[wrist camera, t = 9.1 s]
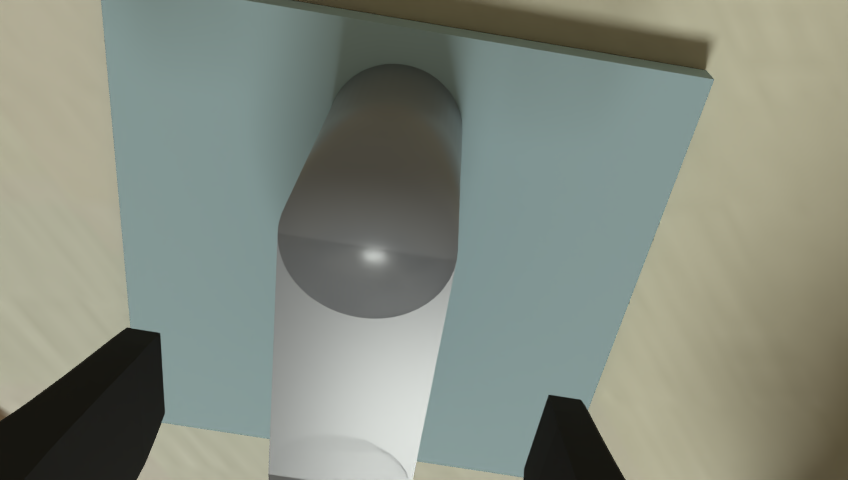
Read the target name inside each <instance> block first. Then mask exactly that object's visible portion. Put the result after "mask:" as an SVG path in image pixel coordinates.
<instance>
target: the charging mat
mask: <svg viewBox="0 0 848 480" xmlns="http://www.w3.org/2000/svg"><path fill="white" fill-rule="evenodd" d="M101 5H102V16H103V27H104V38H105V49H106V60H107V71H108V82H109V94H110V105H111V116H112V127H113V138H114V149H115V160H116V171H117V182H118V194H119V205H120V216H121V227H122V238H123V249H124V260H125V271H126V282H127V294H128V305H129V316H130V327H131V328H133V329H139V330H145V331H152V332H158V333H160V336H161V353H162V370H163V386H164V403H165V415H164V417H163V420H162V422H161V423H168V424H174V425H181V426H188V427H194V428H201V429H207V430H214V431H221V432H227V433H234V434H240V435H247V436H253V437H260V438H267V439H270V421H271V394H272V368H273V341H274V314H275V288H276V261H277V234H278V225H279V220H280V217H281V213H282V211H283V209H284V207H285V205H286V203H287V200H288V198H289V196H290V194H291V192H292V190H293V188H294V186H295V183H296V181H297V179H298V177H299V175H300V173H301V171H302V169H303V166H304V164H305V162H306V160H307V158H308V156H309V154H310V152H311V149H312V147H313V145H314V143H315V141H316V139H317V137H318V135H319V132H320V130H321V128H322V126H323V124H324V122H325V120H326V117H327V115H328V113H329V111H330V109H331V107H332V105H333V103H334V100H335V98H336V96H337V94H338V93H339V91H340V90H341V88H342V87H343V86H344V85H345V84H346V83H347V82H348V81H349V80H350V79H351V78H352V77H353V76H355V75H357V74H358V73H360V72H361V71H364V70H366V69H368V68H371V67H374V66H378V65H384V64H403V65H408V66H412V67H415V68H418V69H421V70H423V71H425V72H427V73H429V74H431V75H432V76H434V77H435V78H436V79H438V80H439V81H440V82H441V83H442V84H443V85H444V86H445V87H446V88H447V89H448V90H449V92H450V93H451V95H452V96H453V98H454V99H455V101H456V103H457V105H458V108H459V111H460V114H461V120H462V153H461V181H460V208H459V236H458V255H457V262H456V267H455V272H454V277H453V282H452V287H451V292H450V297H449V302H448V307H447V312H446V317H445V322H444V327H443V332H442V337H441V342H440V347H439V352H438V357H437V362H436V367H435V372H434V377H433V382H432V387H431V391H430V396H429V401H428V406H427V411H426V416H425V421H424V426H423V431H422V436H421V441H420V446H419V451H418V456H417V461H418V462H425V463H432V464H438V465H445V466H451V467H458V468H464V469H471V470H478V471H484V472H491V473H497V474H504V475H511V476H517V477H524V467H525V464H526V461H527V458H528V455H529V452H530V449H531V446H532V443H533V440H534V437H535V434H536V431H537V428H538V425H539V422H540V419H541V416H542V413H543V410H544V407H545V404H546V401H547V398H548V395H555V396H561V397H567V398H574V399H580V400H582V402H583V403H584V404H585V406H586V408H587V410H588V408H589V406H590V403H591V401H592V398H593V395H594V393H595V390H596V387H597V385H598V382H599V380H600V377H601V374H602V372H603V369H604V366H605V364H606V361H607V359H608V356H609V353H610V351H611V348H612V346H613V343H614V340H615V338H616V335H617V332H618V330H619V327H620V325H621V322H622V319H623V317H624V314H625V312H626V309H627V306H628V304H629V301H630V298H631V296H632V293H633V291H634V288H635V285H636V283H637V280H638V277H639V275H640V272H641V270H642V267H643V264H644V262H645V259H646V257H647V254H648V251H649V249H650V246H651V243H652V241H653V238H654V236H655V233H656V230H657V228H658V225H659V223H660V220H661V217H662V215H663V212H664V209H665V207H666V204H667V202H668V199H669V196H670V194H671V191H672V188H673V186H674V183H675V181H676V178H677V175H678V173H679V170H680V168H681V165H682V162H683V160H684V157H685V154H686V152H687V149H688V147H689V144H690V141H691V139H692V136H693V133H694V131H695V128H696V126H697V123H698V120H699V118H700V115H701V113H702V110H703V107H704V105H705V102H706V99H707V97H708V94H709V92H710V89H711V86H712V84H713V81H714V79H713V78H712V76H711V75H710V74H709V73H708V72H707V71H706V70H701V69H695V68H689V67H683V66H677V65H672V64H666V63H660V62H654V61H648V60H642V59H636V58H630V57H624V56H618V55H612V54H606V53H601V52H595V51H589V50H583V49H577V48H571V47H565V46H559V45H553V44H547V43H541V42H536V41H530V40H524V39H518V38H512V37H506V36H500V35H494V34H488V33H482V32H476V31H471V30H465V29H459V28H453V27H447V26H441V25H435V24H429V23H423V22H417V21H411V20H406V19H400V18H394V17H388V16H382V15H376V14H370V13H364V12H358V11H352V10H346V9H340V8H335V7H329V6H323V5H317V4H311V3H305V2H299V1H293V0H101Z"/></svg>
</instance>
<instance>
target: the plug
mask: <svg viewBox="0 0 848 480" xmlns="http://www.w3.org/2000/svg"><path fill="white" fill-rule="evenodd" d="M461 153H462V120H461V114H460V111H459V108H458V105H457V103H456V101H455V99H454V98H453V96H452V95H451V93H450V92H449V90H448V89H447V88H446V87H445V86H444V85H443V84H442V83H441V82H440V81H439V80H438V79H436V78H435V77H434V76H432V75H431V74H429V73H427V72H425V71H423V70H421V69H418V68H415V67H412V66H408V65H403V64H384V65H378V66H374V67H371V68H368V69H366V70H364V71H361V72H360V73H358V74H357V75H355V76H353V77H352V78H351V79H350V80H349V81H348V82H347V83H346V84H345V85H344V86H343V87H342V88H341V90H340V91H339V93H338V94H337V96H336V98H335V100H334V103H333V105H332V107H331V109H330V111H329V113H328V115H327V117H326V120H325V122H324V124H323V126H322V128H321V130H320V132H319V135H318V137H317V139H316V141H315V143H314V145H313V147H312V149H311V152H310V154H309V156H308V158H307V160H306V162H305V164H304V166H303V169H302V171H301V173H300V175H299V177H298V179H297V181H296V183H295V186H294V188H293V190H292V192H291V194H290V196H289V198H288V200H287V203H286V205H285V207H284V209H283V211H282V213H281V217H280V220H279V225H278V234H277V261H276V288H275V314H274V341H273V368H272V394H271V421H270V448H269V480H413V476H414V471H415V466H416V461H417V456H418V451H419V446H420V441H421V436H422V431H423V426H424V421H425V416H426V411H427V406H428V401H429V396H430V391H431V387H432V382H433V377H434V372H435V367H436V362H437V357H438V352H439V347H440V342H441V337H442V332H443V327H444V322H445V317H446V312H447V307H448V302H449V297H450V292H451V287H452V282H453V277H454V272H455V267H456V262H457V255H458V236H459V208H460V181H461Z"/></svg>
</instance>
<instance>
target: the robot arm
mask: <svg viewBox="0 0 848 480" xmlns="http://www.w3.org/2000/svg"><path fill="white" fill-rule="evenodd" d="M164 415H165V403H164V386H163V370H162V353H161V336H160V333H158V332H152V331H145V330H139V329H133V328H126V329H124V330H123V331H121V332H120V333H119V334H117V335H116V336H115V337H114V338H112V339H111V340H110V341H108V342H107V343H106V344H104V345H103V346H102V347H101V348H99V349H98V350H97V351H95V352H94V353H93V354H92V355H90V356H89V357H88V358H86V359H85V360H84V361H83V362H81V363H80V364H79V365H77V366H76V367H75V368H74V369H72V370H71V371H70V372H68V373H67V374H66V375H64V376H63V377H62V378H60V379H59V380H58V381H56V382H55V383H54V384H52V385H51V386H49V387H48V388H47V389H45V390H44V391H43V392H41V393H40V394H39V395H37V396H36V397H35V398H33V399H32V400H30V401H29V402H28V403H26V404H25V405H23V406H22V407H21V408H19V409H18V410H16V411H15V412H13V413H12V414H10V415H9V416H7V417H6V418H4V419H3V420H1V421H0V480H137V478H138V476H139V474H140V472H141V470H142V469H143V467H144V465H145V463H146V460H147V458H148V455H149V453H150V450H151V448H152V446H153V443H154V441H155V438H156V435H157V433H158V430H159V428H160V425H161V422H162V420H163V417H164ZM524 480H625V478H624V476H623V475H622V473H621V471H620V469H619V468H618V466H617V464H616V462H615V461H614V459H613V457H612V455H611V453H610V452H609V450H608V448H607V446H606V444H605V442H604V441H603V439H602V437H601V435H600V433H599V431H598V429H597V427H596V425H595V423H594V422H593V420H592V418H591V416H590V414H589V412H588V410H587V408H586V406H585V404H584V403H583V402H582V400H580V399H574V398H567V397H561V396H555V395H548V398H547V401H546V404H545V407H544V410H543V413H542V416H541V419H540V422H539V425H538V428H537V431H536V434H535V437H534V440H533V443H532V446H531V449H530V452H529V455H528V458H527V461H526V464H525V467H524Z"/></svg>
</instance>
